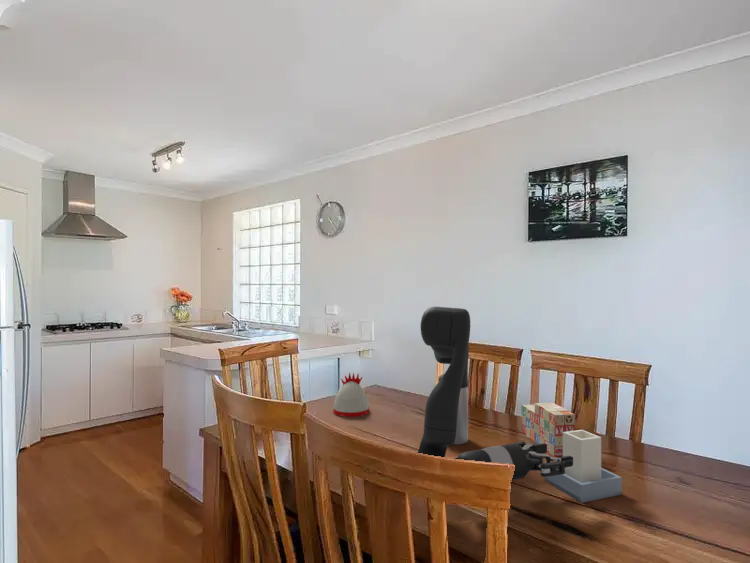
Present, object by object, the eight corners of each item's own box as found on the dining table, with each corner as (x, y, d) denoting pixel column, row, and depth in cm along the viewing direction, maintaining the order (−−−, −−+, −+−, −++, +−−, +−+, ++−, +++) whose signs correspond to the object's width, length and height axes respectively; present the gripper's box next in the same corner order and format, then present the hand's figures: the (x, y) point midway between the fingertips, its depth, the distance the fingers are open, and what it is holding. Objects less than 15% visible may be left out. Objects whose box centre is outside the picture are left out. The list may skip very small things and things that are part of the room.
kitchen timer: (368, 417, 166) (368, 376, 166) (331, 416, 167) (331, 376, 167) (369, 406, 180) (369, 369, 180) (335, 406, 180) (335, 369, 181)
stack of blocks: (521, 432, 149) (521, 395, 150) (539, 431, 150) (538, 395, 150) (554, 457, 128) (554, 414, 128) (575, 456, 129) (574, 413, 129)
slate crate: (581, 502, 101) (581, 485, 101) (544, 480, 113) (544, 464, 113) (621, 494, 105) (621, 477, 105) (582, 473, 117) (582, 458, 117)
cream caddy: (581, 491, 105) (581, 440, 105) (562, 480, 111) (562, 432, 111) (601, 487, 107) (601, 437, 107) (582, 477, 113) (582, 429, 113)
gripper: (522, 458, 94) (581, 448, 100) (483, 436, 108) (538, 429, 113) (522, 493, 94) (581, 482, 100) (483, 467, 108) (538, 458, 113)
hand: (558, 454), depth 107 cm, fingers open, 8 cm apart
